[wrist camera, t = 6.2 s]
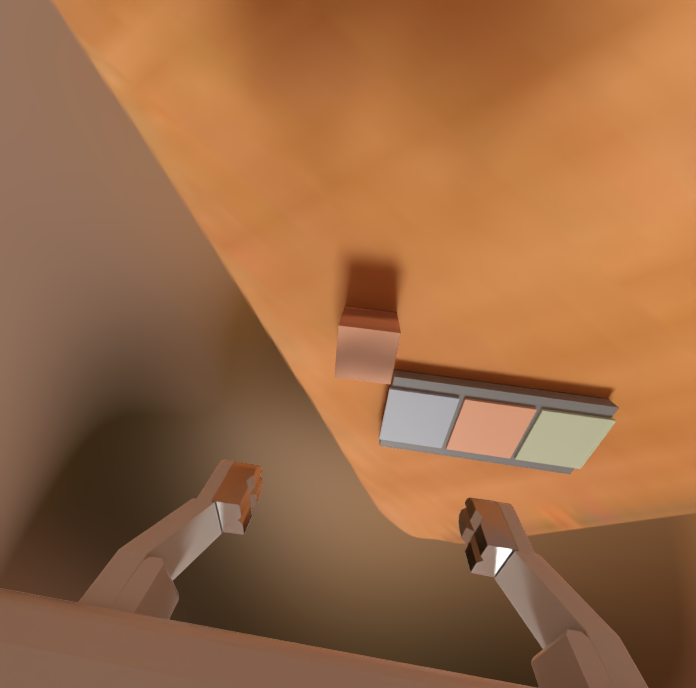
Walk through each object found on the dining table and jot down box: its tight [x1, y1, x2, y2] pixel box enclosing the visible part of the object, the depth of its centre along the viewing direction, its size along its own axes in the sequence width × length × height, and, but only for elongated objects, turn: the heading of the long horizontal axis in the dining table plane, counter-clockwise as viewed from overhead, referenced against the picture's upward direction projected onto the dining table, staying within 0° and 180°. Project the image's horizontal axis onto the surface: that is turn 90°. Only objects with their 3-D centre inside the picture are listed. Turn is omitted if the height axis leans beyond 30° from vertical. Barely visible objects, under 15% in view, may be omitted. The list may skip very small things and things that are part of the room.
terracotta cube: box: [335, 306, 401, 384], centre depth 22 cm, size 4×4×4 cm
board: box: [379, 370, 619, 474], centre depth 26 cm, size 9×20×2 cm, turn 84°
